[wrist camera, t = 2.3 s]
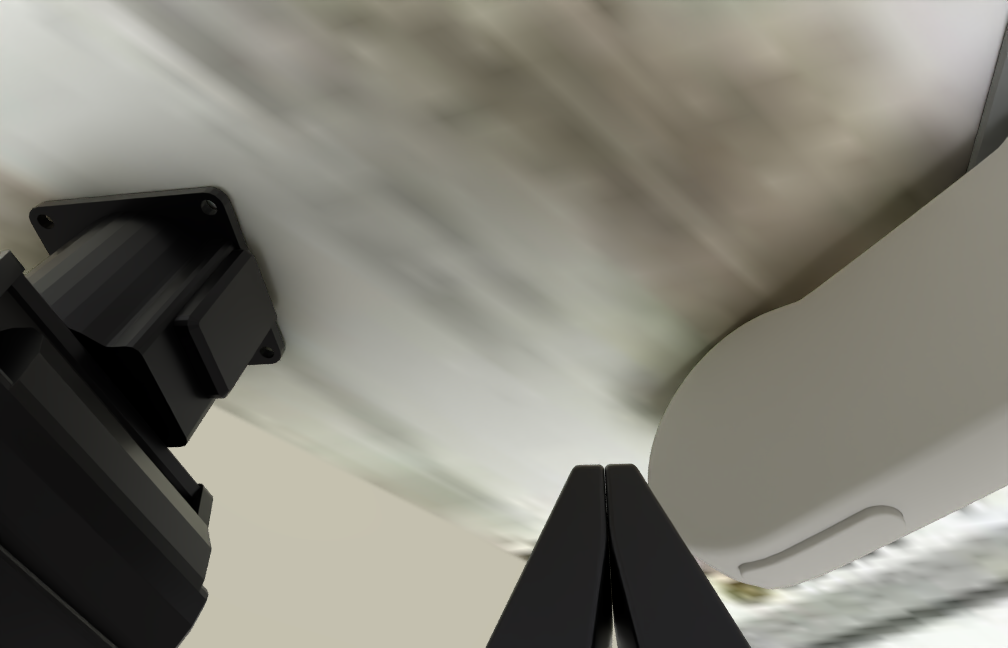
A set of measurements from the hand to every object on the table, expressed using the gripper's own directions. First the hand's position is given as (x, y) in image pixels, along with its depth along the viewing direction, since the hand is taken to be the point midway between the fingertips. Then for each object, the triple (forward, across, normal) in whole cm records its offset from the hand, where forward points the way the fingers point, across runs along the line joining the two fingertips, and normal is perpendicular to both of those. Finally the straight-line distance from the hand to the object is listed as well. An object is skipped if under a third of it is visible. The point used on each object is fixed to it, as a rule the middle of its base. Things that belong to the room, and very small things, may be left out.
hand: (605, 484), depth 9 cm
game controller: (+12, -9, +3) cm, 15 cm away
